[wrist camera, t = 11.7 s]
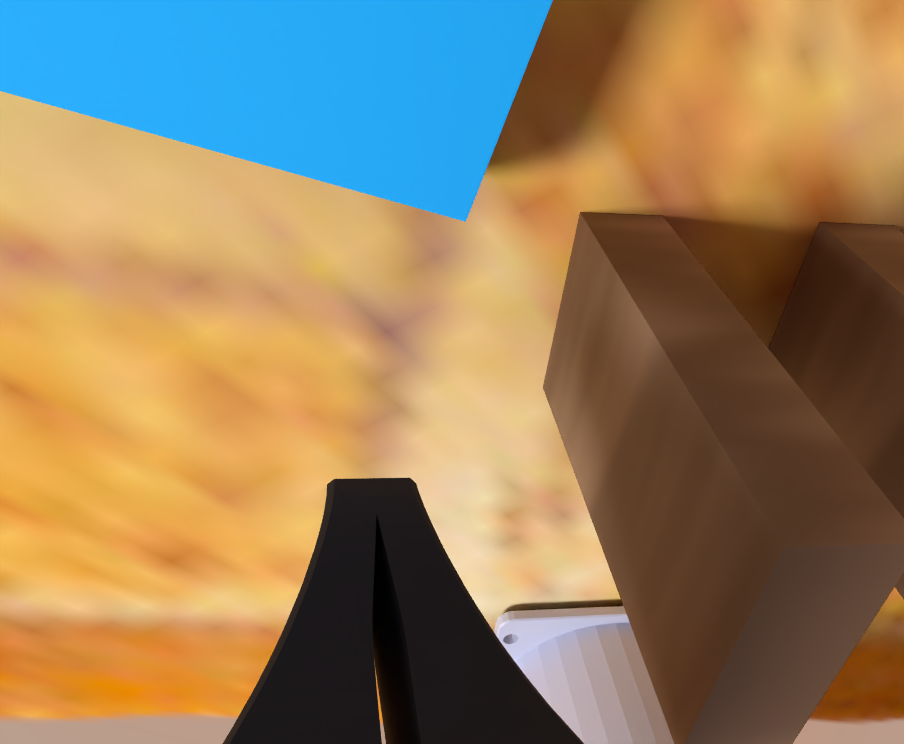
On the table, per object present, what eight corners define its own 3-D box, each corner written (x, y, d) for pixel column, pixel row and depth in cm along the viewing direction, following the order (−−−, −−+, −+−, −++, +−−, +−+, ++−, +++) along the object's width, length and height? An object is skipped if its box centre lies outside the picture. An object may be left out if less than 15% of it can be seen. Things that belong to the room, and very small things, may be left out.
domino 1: (662, 215, 18) (923, 543, 10) (615, 387, 21) (790, 746, 13) (580, 212, 18) (783, 547, 10) (542, 387, 21) (678, 755, 13)
